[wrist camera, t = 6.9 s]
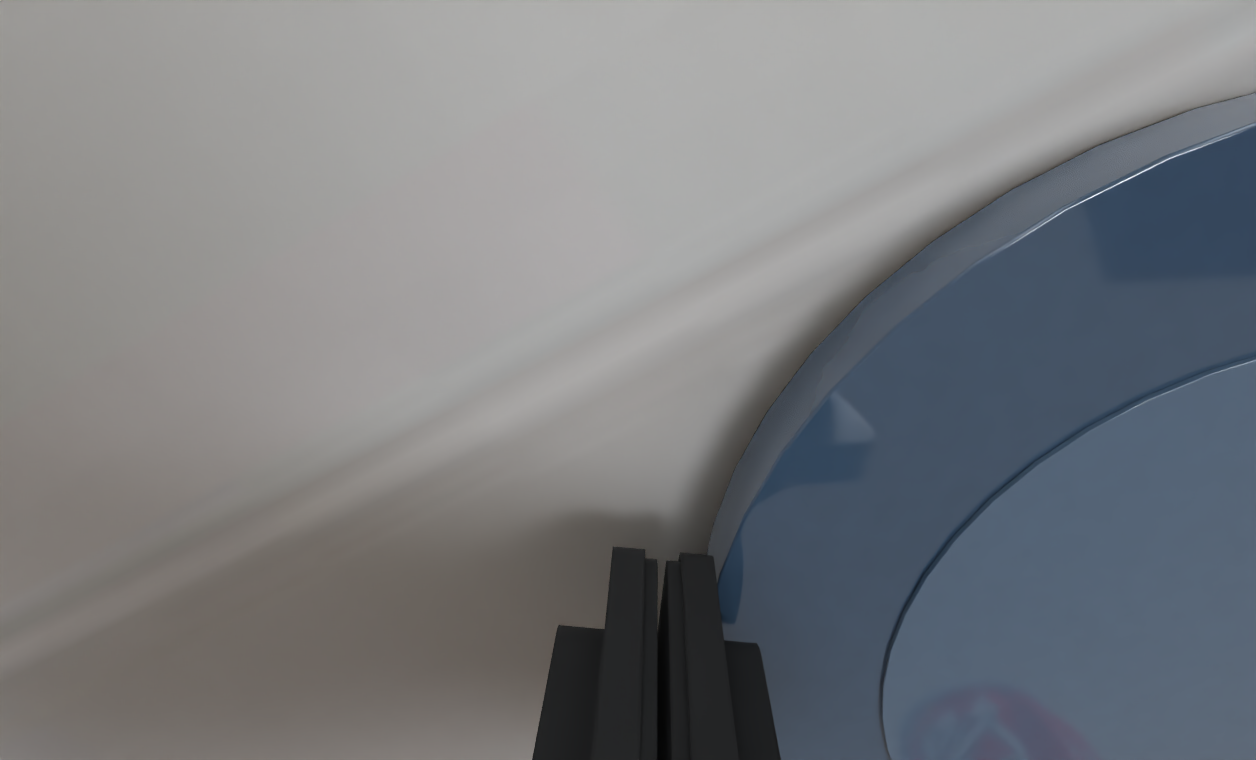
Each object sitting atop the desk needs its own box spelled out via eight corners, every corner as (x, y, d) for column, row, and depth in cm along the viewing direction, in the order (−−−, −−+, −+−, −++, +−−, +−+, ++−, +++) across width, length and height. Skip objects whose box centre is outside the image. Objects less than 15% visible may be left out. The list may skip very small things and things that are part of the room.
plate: (776, 21, 9) (798, 9, 7) (2226, 117, 8) (2539, 124, 7) (661, 871, 16) (661, 945, 15) (1424, 938, 16) (1498, 1020, 14)
